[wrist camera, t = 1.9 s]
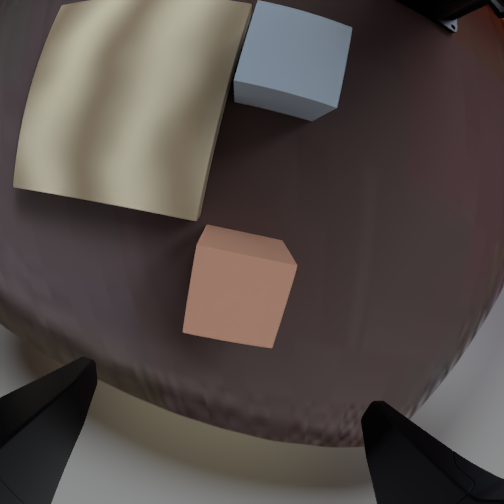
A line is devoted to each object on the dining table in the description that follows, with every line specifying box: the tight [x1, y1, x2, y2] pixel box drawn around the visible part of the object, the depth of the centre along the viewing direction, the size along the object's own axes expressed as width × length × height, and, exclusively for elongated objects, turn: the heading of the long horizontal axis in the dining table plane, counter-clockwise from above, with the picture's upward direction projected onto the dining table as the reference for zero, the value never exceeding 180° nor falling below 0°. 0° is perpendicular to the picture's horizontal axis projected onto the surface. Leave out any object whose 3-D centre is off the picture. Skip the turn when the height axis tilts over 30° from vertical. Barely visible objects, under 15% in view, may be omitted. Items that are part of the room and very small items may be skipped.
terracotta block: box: [183, 225, 297, 348], centre depth 17 cm, size 5×5×5 cm
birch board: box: [13, 0, 252, 221], centre depth 15 cm, size 14×14×2 cm
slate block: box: [234, 0, 352, 121], centre depth 14 cm, size 5×5×5 cm
